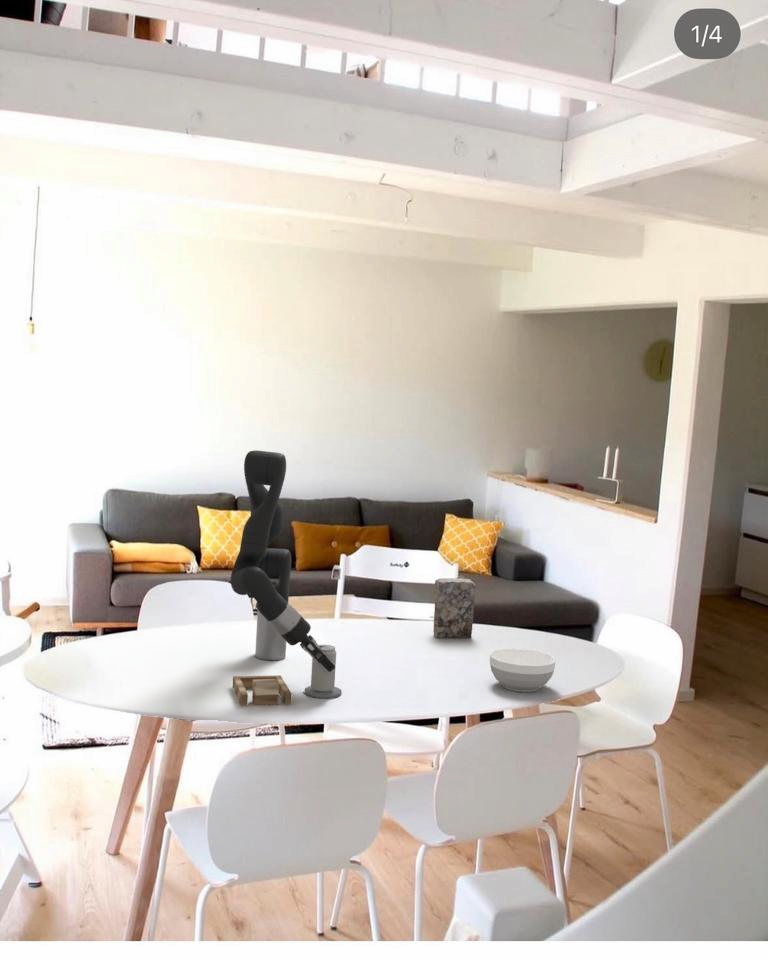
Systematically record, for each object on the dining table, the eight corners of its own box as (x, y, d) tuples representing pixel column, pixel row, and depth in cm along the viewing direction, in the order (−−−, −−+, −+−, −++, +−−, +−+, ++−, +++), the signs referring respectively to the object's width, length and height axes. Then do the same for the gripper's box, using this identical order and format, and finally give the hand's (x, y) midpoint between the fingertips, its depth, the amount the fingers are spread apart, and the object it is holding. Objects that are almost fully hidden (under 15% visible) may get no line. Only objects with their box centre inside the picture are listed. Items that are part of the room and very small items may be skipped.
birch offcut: (252, 691, 265) (252, 679, 265) (274, 689, 268) (275, 678, 267) (255, 695, 262) (256, 684, 261) (278, 694, 264) (279, 682, 264)
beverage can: (321, 685, 281) (323, 642, 280) (339, 690, 277) (341, 647, 276) (305, 689, 276) (308, 646, 275) (323, 695, 272) (325, 650, 271)
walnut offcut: (252, 701, 266) (252, 690, 266) (275, 701, 268) (275, 690, 267) (254, 706, 262) (254, 695, 262) (277, 706, 264) (277, 694, 264)
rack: (232, 687, 277) (233, 676, 277) (279, 686, 281) (280, 675, 281) (241, 706, 261) (241, 694, 261) (291, 704, 265) (291, 693, 265)
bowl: (517, 674, 308) (519, 645, 307) (567, 690, 294) (569, 660, 293) (474, 683, 295) (476, 653, 294) (524, 700, 281) (526, 669, 280)
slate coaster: (301, 688, 280) (301, 685, 280) (336, 687, 283) (336, 684, 283) (308, 699, 270) (308, 696, 270) (345, 698, 273) (345, 695, 273)
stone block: (438, 639, 346) (441, 581, 345) (430, 634, 353) (434, 577, 351) (473, 638, 351) (477, 581, 349) (465, 634, 357) (469, 577, 356)
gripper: (304, 620, 266) (345, 662, 270) (294, 608, 280) (333, 648, 284) (283, 640, 265) (324, 682, 269) (274, 627, 279) (313, 667, 283)
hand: (329, 665), depth 276 cm, fingers open, 8 cm apart
